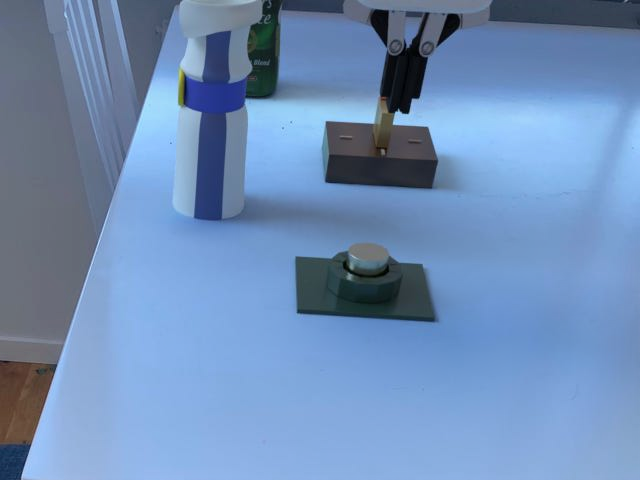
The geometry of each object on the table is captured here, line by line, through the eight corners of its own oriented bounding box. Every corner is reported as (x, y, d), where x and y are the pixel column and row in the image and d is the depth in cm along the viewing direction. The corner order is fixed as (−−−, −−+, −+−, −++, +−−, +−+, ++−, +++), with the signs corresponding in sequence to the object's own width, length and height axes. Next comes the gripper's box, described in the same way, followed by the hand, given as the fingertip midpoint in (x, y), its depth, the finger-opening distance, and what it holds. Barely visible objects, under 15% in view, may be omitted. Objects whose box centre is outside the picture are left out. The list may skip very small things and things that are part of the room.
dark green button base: (417, 285, 90) (427, 245, 87) (428, 340, 84) (440, 298, 81) (292, 278, 91) (297, 237, 88) (294, 331, 84) (300, 289, 81)
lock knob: (388, 148, 105) (395, 111, 102) (375, 147, 105) (382, 110, 102) (384, 131, 108) (391, 94, 106) (372, 130, 108) (379, 94, 106)
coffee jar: (202, 95, 123) (211, -80, 110) (209, 75, 129) (219, -94, 115) (275, 101, 123) (294, -74, 109) (280, 81, 128) (298, -89, 114)
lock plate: (422, 153, 112) (428, 125, 110) (431, 188, 105) (438, 158, 103) (321, 147, 113) (325, 119, 110) (324, 182, 106) (329, 152, 104)
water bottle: (166, 221, 98) (175, -73, 80) (170, 187, 104) (178, -95, 85) (245, 224, 98) (272, -70, 80) (244, 190, 104) (269, -92, 85)
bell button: (383, 262, 86) (387, 243, 84) (386, 281, 83) (390, 262, 82) (344, 260, 86) (347, 241, 84) (346, 279, 83) (349, 259, 82)
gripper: (344, -198, 59) (303, 120, 72) (586, -188, 58) (499, 131, 72) (338, -214, 64) (301, 86, 77) (561, -204, 63) (484, 96, 77)
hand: (396, 107), depth 74 cm, fingers closed
